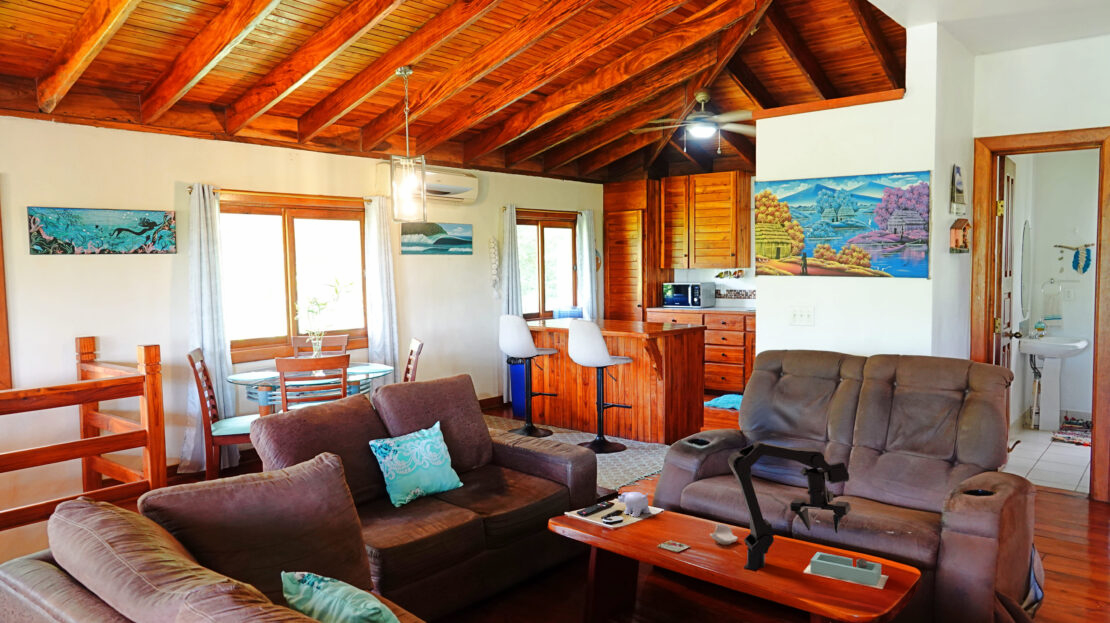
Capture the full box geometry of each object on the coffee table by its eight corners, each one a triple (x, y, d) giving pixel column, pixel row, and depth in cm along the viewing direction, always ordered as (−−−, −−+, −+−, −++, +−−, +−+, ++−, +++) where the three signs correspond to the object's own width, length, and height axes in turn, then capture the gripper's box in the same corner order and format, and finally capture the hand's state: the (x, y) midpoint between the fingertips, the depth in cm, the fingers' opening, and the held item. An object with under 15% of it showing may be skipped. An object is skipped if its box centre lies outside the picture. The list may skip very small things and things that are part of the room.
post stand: (888, 579, 238) (888, 557, 238) (882, 591, 228) (882, 569, 228) (812, 563, 251) (812, 543, 251) (803, 575, 241) (803, 554, 241)
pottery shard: (717, 548, 266) (717, 534, 266) (701, 538, 277) (701, 525, 276) (741, 545, 269) (742, 531, 269) (725, 535, 280) (725, 522, 280)
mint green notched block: (881, 576, 238) (881, 564, 238) (876, 585, 231) (876, 573, 230) (817, 563, 249) (817, 551, 249) (810, 572, 241) (810, 560, 241)
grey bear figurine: (627, 506, 317) (627, 484, 317) (655, 513, 307) (656, 490, 307) (611, 511, 310) (611, 488, 309) (640, 519, 299) (640, 496, 299)
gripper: (852, 480, 248) (858, 525, 249) (798, 477, 260) (804, 520, 260) (842, 490, 239) (848, 537, 240) (786, 487, 251) (792, 532, 252)
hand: (823, 531), depth 248 cm, fingers open, 9 cm apart
